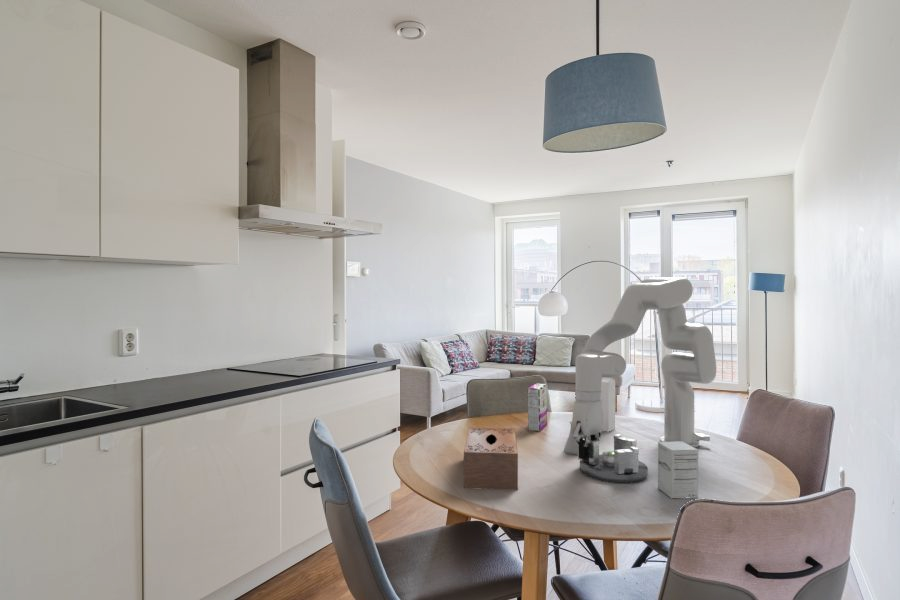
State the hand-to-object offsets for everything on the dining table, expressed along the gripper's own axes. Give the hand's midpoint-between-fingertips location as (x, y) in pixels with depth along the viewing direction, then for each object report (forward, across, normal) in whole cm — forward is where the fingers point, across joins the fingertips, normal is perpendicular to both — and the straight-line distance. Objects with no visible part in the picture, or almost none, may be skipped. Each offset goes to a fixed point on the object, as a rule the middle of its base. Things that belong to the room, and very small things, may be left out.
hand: (588, 456), depth 151 cm
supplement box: (+4, -1, +26) cm, 26 cm away
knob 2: (+2, 0, +12) cm, 12 cm away
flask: (+4, -11, -12) cm, 17 cm away
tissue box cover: (+4, +23, -18) cm, 29 cm away
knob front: (+2, 0, 0) cm, 2 cm away
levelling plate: (+4, -4, +6) cm, 8 cm away
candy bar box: (+4, -26, -40) cm, 48 cm away
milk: (+4, -43, -21) cm, 48 cm away
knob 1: (+2, -11, +6) cm, 12 cm away
